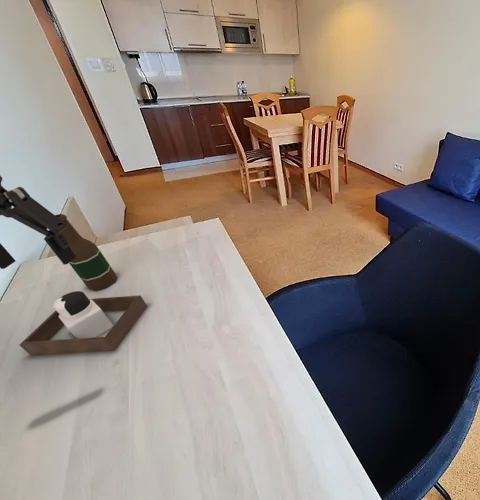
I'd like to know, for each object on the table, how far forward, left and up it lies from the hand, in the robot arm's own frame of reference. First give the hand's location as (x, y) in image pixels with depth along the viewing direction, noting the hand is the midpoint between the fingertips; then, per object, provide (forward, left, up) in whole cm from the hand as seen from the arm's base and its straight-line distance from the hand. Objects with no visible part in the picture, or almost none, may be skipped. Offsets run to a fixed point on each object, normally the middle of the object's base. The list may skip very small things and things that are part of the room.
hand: (39, 262), depth 65 cm
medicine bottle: (-1, +1, -23) cm, 23 cm away
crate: (-1, +1, -23) cm, 23 cm away
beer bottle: (-12, +21, -23) cm, 33 cm away
